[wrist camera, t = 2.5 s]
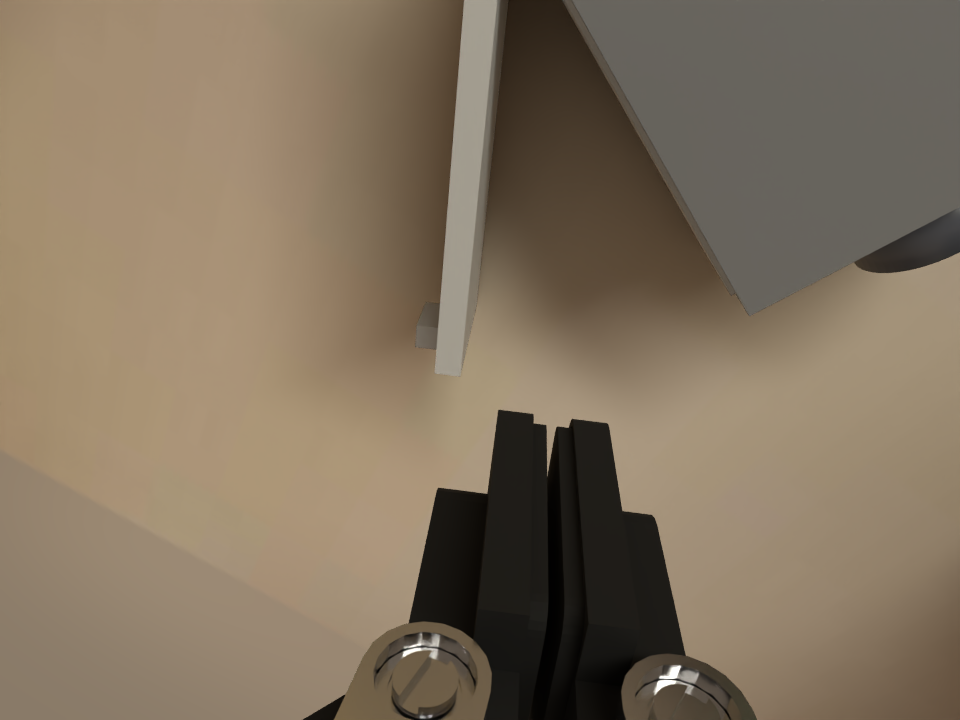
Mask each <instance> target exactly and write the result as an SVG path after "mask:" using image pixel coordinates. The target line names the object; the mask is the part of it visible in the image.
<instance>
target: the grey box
mask: <svg viewBox="0 0 960 720" xmlns="http://www.w3.org/2000/svg"><path fill="white" fill-rule="evenodd" d="M562 2H563V3H564V5H565V7H566V9H567V11H568V12H569V14H570V16H571V18H572V19H573V21H574V23H575V25H576V26H577V28H578V30H579V32H580V33H581V35H582V37H583V39H584V41H585V42H586V44H587V46H588V48H589V49H590V51H591V53H592V55H593V56H594V58H595V60H596V62H597V63H598V65H599V67H600V69H601V71H602V72H603V74H604V76H605V78H606V79H607V81H608V83H609V85H610V86H611V88H612V90H613V92H614V93H615V95H616V97H617V99H618V101H619V102H620V104H621V106H622V108H623V109H624V111H625V113H626V115H627V116H628V118H629V120H630V122H631V124H632V125H633V127H634V129H635V131H636V132H637V134H638V136H639V138H640V139H641V141H642V143H643V145H644V146H645V148H646V150H647V152H648V154H649V155H650V157H651V159H652V161H653V162H654V164H655V166H656V168H657V169H658V171H659V173H660V175H661V176H662V178H663V180H664V182H665V184H666V185H667V187H668V189H669V191H670V192H671V194H672V196H673V198H674V199H675V201H676V203H677V205H678V206H679V208H680V210H681V212H682V214H683V215H684V217H685V219H686V221H687V222H688V224H689V226H690V228H691V229H692V231H693V233H694V235H695V237H696V238H697V240H698V242H699V244H700V245H701V247H702V249H703V250H704V252H705V254H706V255H707V257H708V259H709V260H710V262H711V264H712V265H713V267H714V269H715V270H716V272H717V274H718V275H719V277H720V278H721V280H722V282H723V283H724V285H725V287H726V288H727V290H728V292H729V293H730V295H733V294H736V296H737V297H738V299H739V300H740V302H741V304H742V305H743V307H744V308H745V310H746V312H747V313H748V315H749V316H751V315H753V314H755V313H757V312H758V311H760V310H762V309H764V308H766V307H768V306H770V305H772V304H774V303H776V302H778V301H780V300H782V299H784V298H785V297H787V296H789V295H791V294H793V293H795V292H797V291H799V290H801V289H803V288H805V287H807V286H809V285H810V284H812V283H814V282H816V281H818V280H820V279H822V278H824V277H826V276H828V275H830V274H832V273H834V272H836V271H837V270H839V269H841V268H843V267H845V266H847V265H849V264H851V263H853V262H854V263H855V264H856V265H857V266H858V267H859V268H861V269H863V270H865V271H869V272H876V273H892V272H901V271H907V270H912V269H916V268H920V267H923V266H927V265H930V264H933V263H936V262H938V261H941V260H943V259H946V258H948V257H950V256H953V255H955V254H957V253H959V252H960V0H562Z"/></svg>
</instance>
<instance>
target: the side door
mask: <svg viewBox="0 0 960 720" xmlns="http://www.w3.org/2000/svg"><path fill="white" fill-rule="evenodd" d="M508 2H509V0H464V8H463V21H462V33H461V46H460V59H459V71H458V84H457V97H456V109H455V122H454V134H453V147H452V160H451V172H450V185H449V198H448V210H447V223H446V235H445V248H444V261H443V273H442V286H441V299H440V304H438V303H430V302H426V303H425V306H424V308H423V311H422V313H421V316H420V318H419V321H418V323H417V327H416V343H415V347H419V348H426V349H434V350H436V362H435V373H436V374H444V375H451V376H459V377H460V376H461V371H462V367H463V363H464V358H465V354H466V350H467V345H468V341H469V337H470V332H471V328H472V324H473V319H474V315H475V311H476V306H477V297H478V287H479V278H480V268H481V259H482V249H483V240H484V230H485V221H486V211H487V202H488V192H489V183H490V173H491V164H492V154H493V144H494V135H495V125H496V116H497V106H498V97H499V87H500V78H501V68H502V59H503V49H504V40H505V30H506V21H507V11H508Z"/></svg>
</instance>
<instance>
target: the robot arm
mask: <svg viewBox="0 0 960 720" xmlns="http://www.w3.org/2000/svg"><path fill="white" fill-rule="evenodd" d="M533 422H534V416H533V414H528V413H520V412H512V411H504V410H498V416H497V424H496V432H495V439H494V447H493V455H492V462H491V470H490V478H489V486H488V493H487V494H483V493H476V492H468V491H460V490H452V489H444V488H438V489H437V493H436V497H435V502H434V506H433V511H432V516H431V521H430V525H429V530H428V535H427V539H426V544H425V549H424V554H423V558H422V563H421V568H420V573H419V577H418V582H417V587H416V591H415V596H414V601H413V606H412V610H411V615H410V620H409V623H408V624H404V625H401V626H399V627H396V628H394V629H391V630H389V631H387V632H386V633H384V634H383V635H382V636H381V637H379V638H378V639H377V640H375V641H374V642H373V643H372V645H371V646H370V648H369V649H368V651H367V652H366V653H365V655H364V656H363V658H362V661H361V663H360V665H359V667H358V669H357V671H356V673H355V675H354V678H353V680H352V682H351V684H350V686H349V689H348V691H347V693H346V695H343V696H342V697H340V698H339V699H337V700H335V701H334V702H332V703H330V704H328V705H327V706H325V707H323V708H322V709H320V710H318V711H317V712H315V713H313V714H312V715H310V716H308V717H307V718H305V719H303V720H757V719H756V716H755V714H754V712H753V710H752V708H751V706H750V705H749V703H748V702H747V700H746V698H745V697H744V695H743V694H742V692H741V691H740V690H739V689H738V688H737V687H736V686H735V685H734V684H733V683H732V682H731V681H730V680H729V679H728V678H727V677H726V676H725V675H724V674H722V673H721V672H719V671H717V670H716V669H714V668H713V667H711V666H710V665H708V664H706V663H704V662H701V661H699V660H696V659H693V658H691V657H688V656H686V655H685V651H684V646H683V641H682V637H681V632H680V628H679V623H678V619H677V614H676V609H675V605H674V600H673V596H672V591H671V587H670V582H669V577H668V573H667V568H666V564H665V559H664V555H663V550H662V545H661V541H660V536H659V532H658V527H657V524H656V521H655V518H654V517H653V516H652V515H648V514H640V513H632V512H624V511H622V507H621V500H620V494H619V488H618V481H617V475H616V468H615V462H614V456H613V449H612V443H611V437H610V430H609V426H608V424H607V423H600V422H592V421H584V420H576V419H572V420H571V422H570V425H569V428H565V427H557V428H556V431H555V436H554V442H553V448H552V454H551V459H550V465H549V471H548V476H547V430H546V425H541V424H533Z"/></svg>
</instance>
